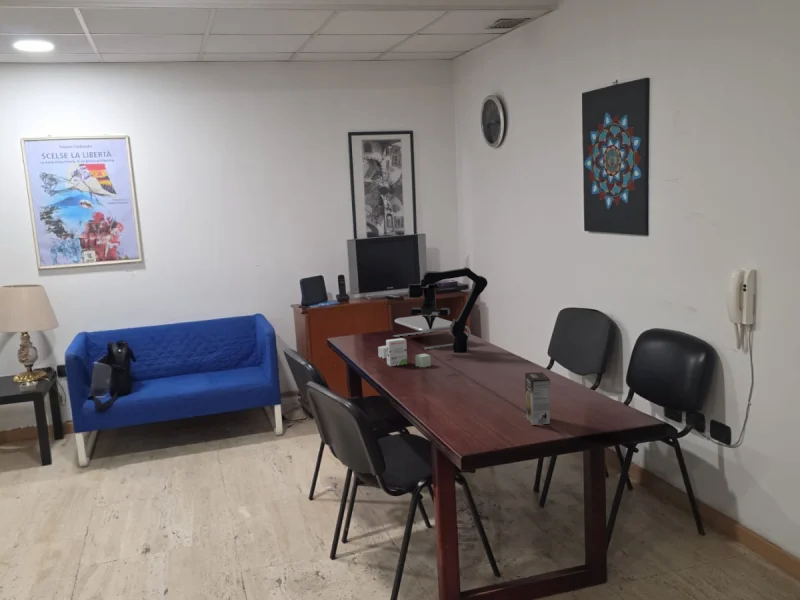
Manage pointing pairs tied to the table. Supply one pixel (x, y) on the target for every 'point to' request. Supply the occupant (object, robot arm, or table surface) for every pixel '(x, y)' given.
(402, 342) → the ink box
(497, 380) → the table surface
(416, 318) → the monitor stand
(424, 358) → the sage block
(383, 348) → the grey block
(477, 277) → the robot arm
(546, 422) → the coffee box
